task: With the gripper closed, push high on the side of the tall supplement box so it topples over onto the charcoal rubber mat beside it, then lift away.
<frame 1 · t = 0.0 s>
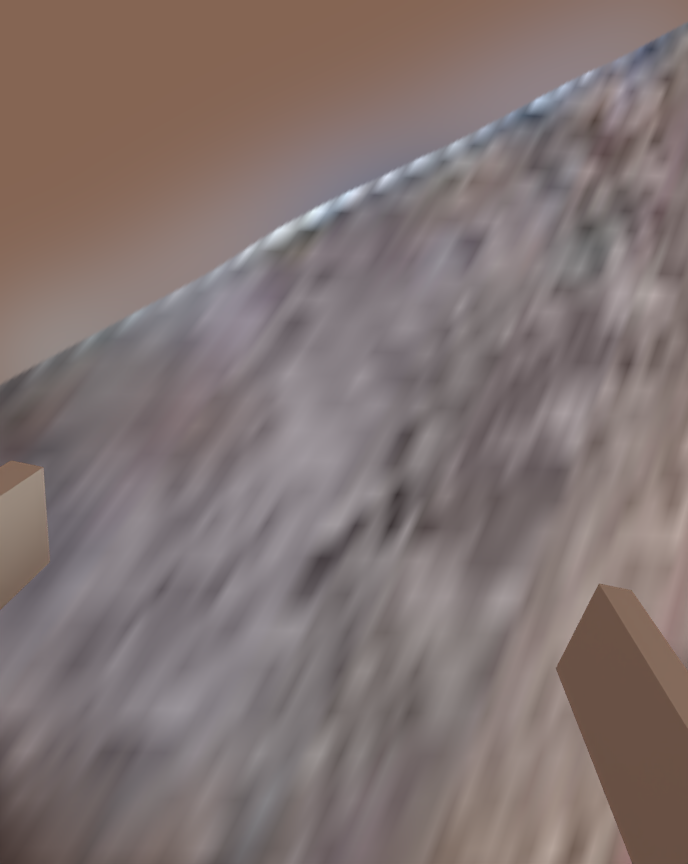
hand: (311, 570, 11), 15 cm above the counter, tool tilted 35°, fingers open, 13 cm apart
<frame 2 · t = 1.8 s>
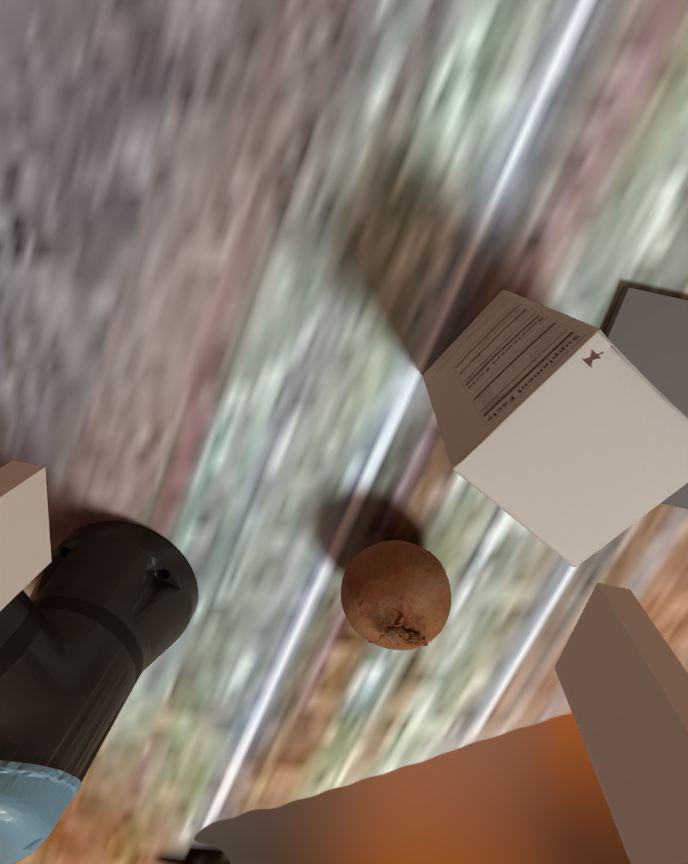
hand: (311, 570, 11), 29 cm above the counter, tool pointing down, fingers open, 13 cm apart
supplement box: (501, 369, 38), on the counter
onion: (394, 557, 46), on the counter
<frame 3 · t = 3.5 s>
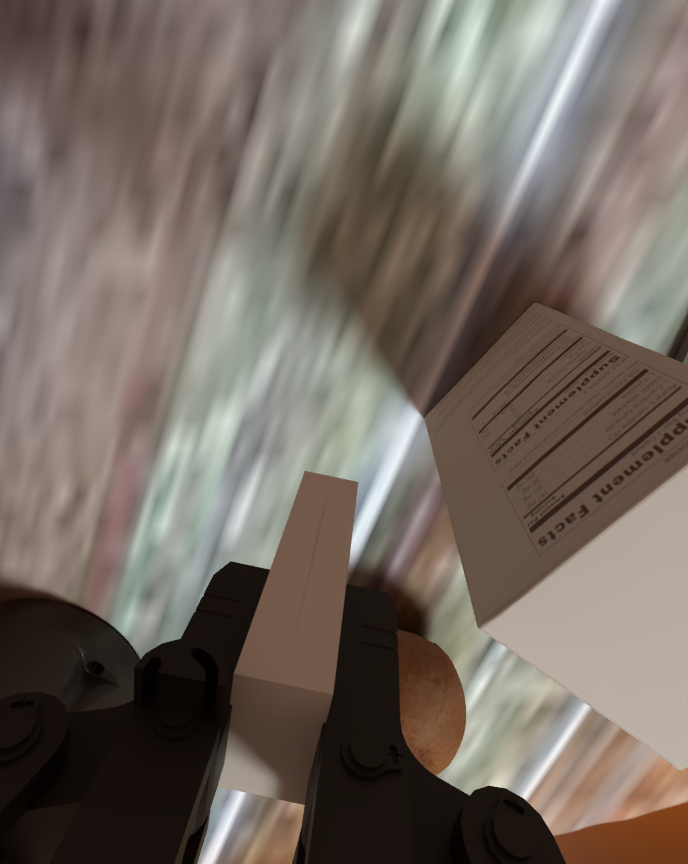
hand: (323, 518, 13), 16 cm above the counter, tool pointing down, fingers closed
supplement box: (531, 409, 28), on the counter
onion: (390, 641, 36), on the counter
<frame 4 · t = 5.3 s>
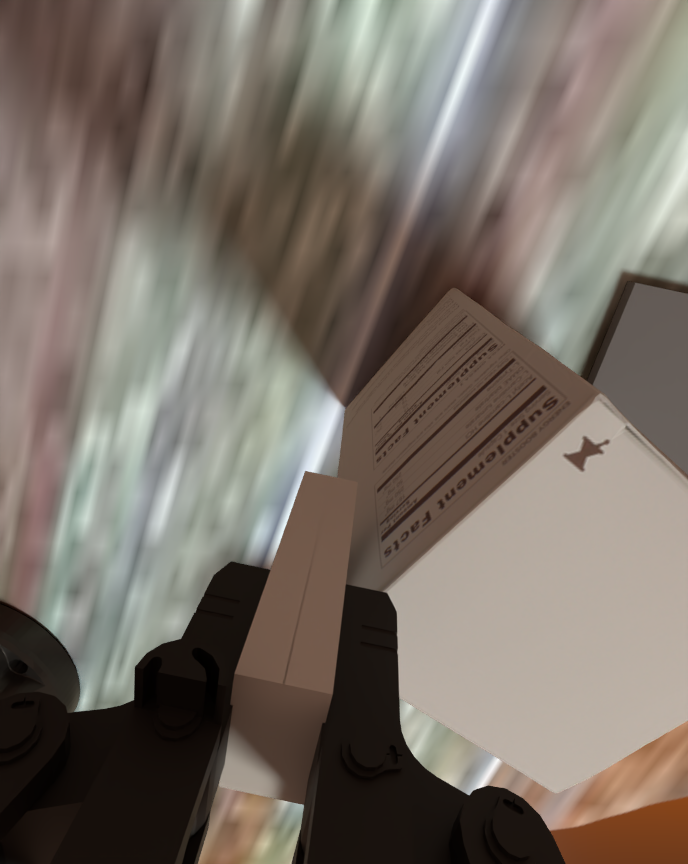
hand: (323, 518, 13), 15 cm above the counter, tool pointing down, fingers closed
supplement box: (456, 401, 27), on the counter
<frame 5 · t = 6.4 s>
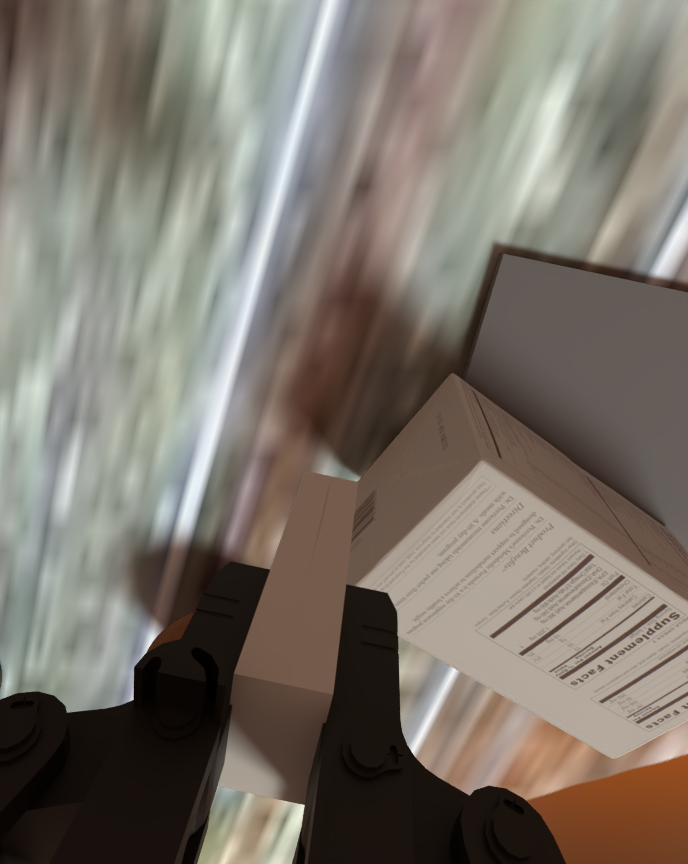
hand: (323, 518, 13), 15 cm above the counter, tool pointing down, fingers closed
supplement box: (395, 472, 22), point 6 cm above the counter, touching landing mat
onion: (238, 622, 35), on the counter
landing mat: (623, 436, 27), on the counter
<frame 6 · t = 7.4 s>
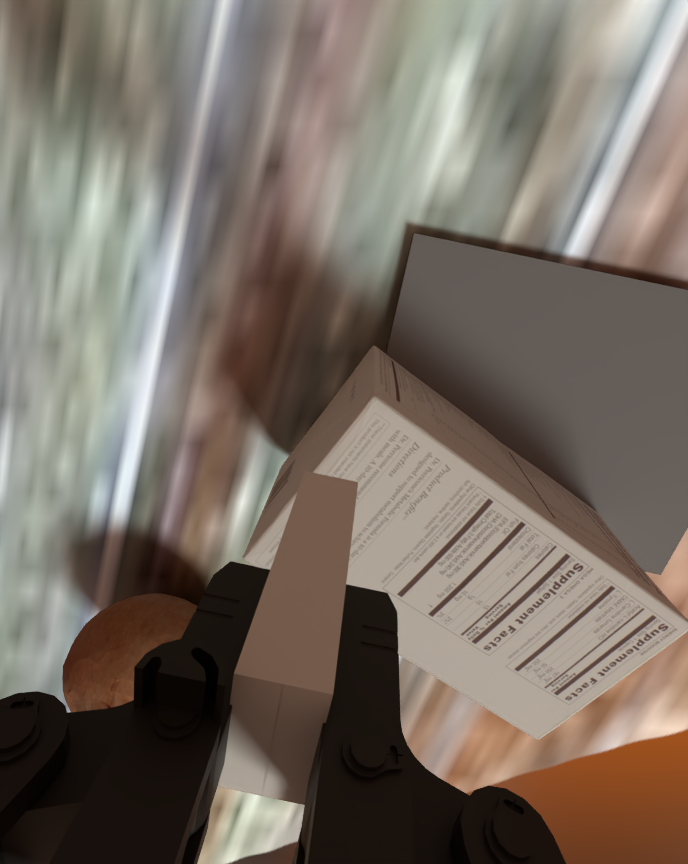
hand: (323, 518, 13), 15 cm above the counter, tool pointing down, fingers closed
supplement box: (311, 435, 22), point 6 cm above the counter, touching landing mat
onion: (180, 609, 35), on the counter
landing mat: (547, 419, 27), on the counter
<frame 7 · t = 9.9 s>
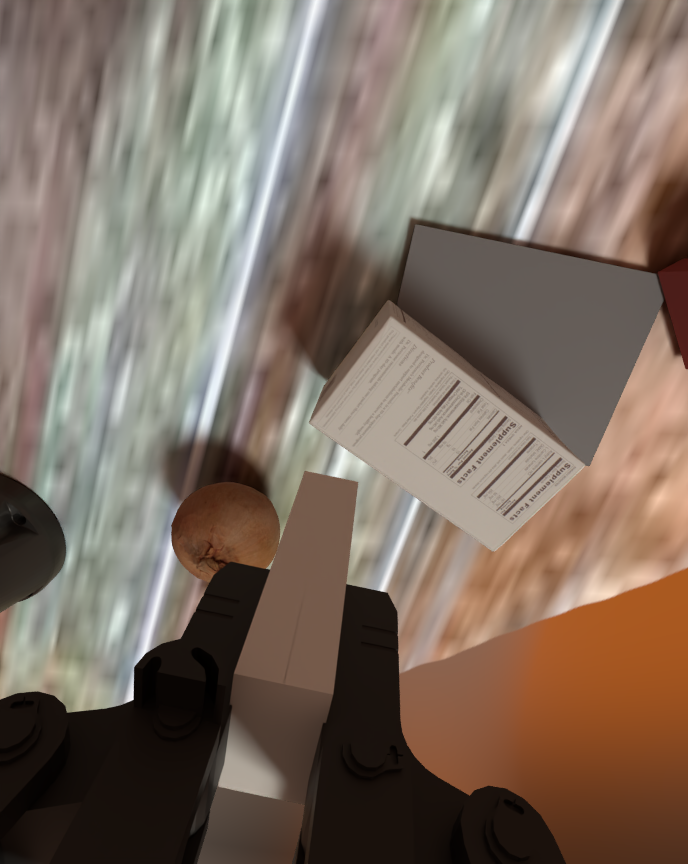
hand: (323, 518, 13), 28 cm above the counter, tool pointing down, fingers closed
supplement box: (348, 354, 35), point 6 cm above the counter, touching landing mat
onion: (243, 503, 47), on the counter
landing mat: (507, 352, 39), on the counter
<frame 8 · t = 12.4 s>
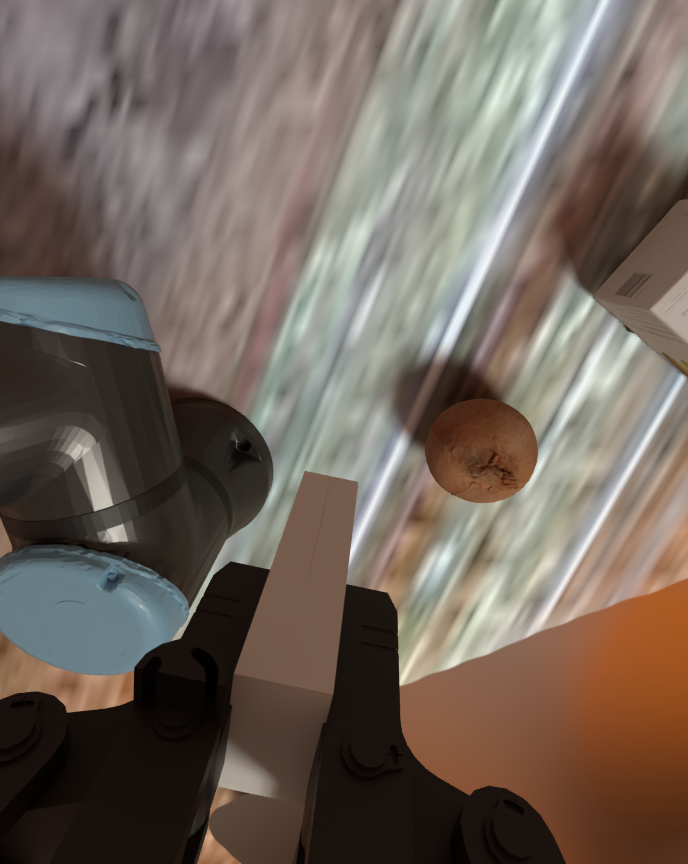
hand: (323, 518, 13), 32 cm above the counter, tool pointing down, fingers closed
supplement box: (662, 247, 34), point 6 cm above the counter, touching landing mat
onion: (470, 429, 47), on the counter
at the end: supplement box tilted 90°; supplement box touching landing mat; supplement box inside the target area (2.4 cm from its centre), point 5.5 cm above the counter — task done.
